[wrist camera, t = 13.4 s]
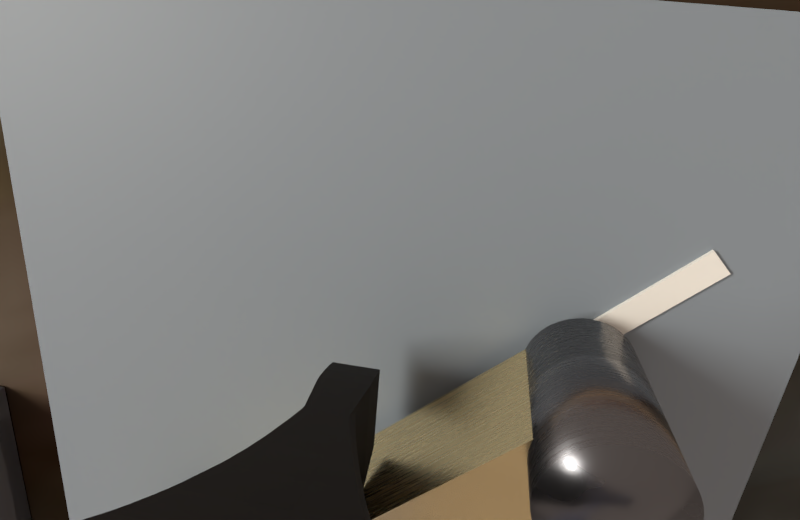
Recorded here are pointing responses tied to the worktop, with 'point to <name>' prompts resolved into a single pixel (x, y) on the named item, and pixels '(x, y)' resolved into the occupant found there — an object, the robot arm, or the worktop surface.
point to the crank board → (395, 212)
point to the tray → (10, 470)
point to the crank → (539, 441)
